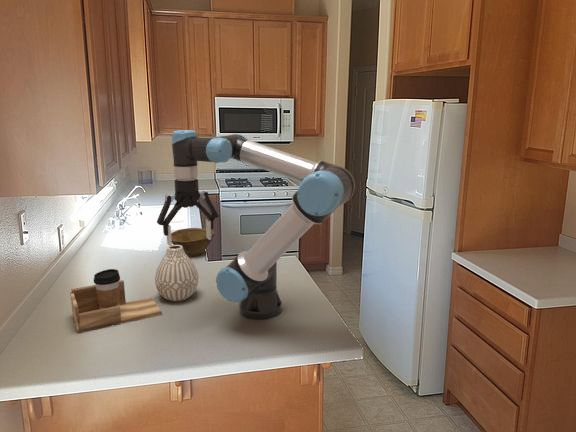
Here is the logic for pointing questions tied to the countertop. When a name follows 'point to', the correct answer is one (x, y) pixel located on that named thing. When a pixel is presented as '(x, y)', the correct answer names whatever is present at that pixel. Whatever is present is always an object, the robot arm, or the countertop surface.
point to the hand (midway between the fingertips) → (189, 241)
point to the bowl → (191, 240)
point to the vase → (176, 275)
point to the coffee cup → (107, 288)
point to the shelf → (107, 309)
